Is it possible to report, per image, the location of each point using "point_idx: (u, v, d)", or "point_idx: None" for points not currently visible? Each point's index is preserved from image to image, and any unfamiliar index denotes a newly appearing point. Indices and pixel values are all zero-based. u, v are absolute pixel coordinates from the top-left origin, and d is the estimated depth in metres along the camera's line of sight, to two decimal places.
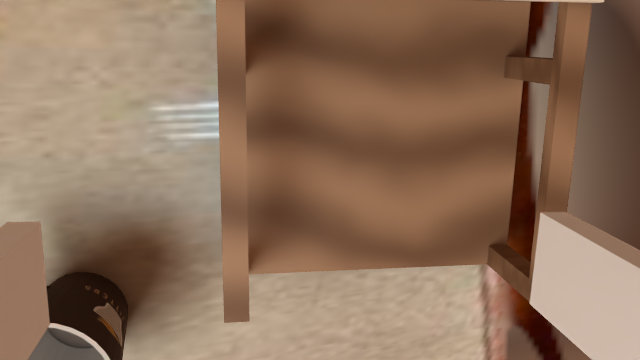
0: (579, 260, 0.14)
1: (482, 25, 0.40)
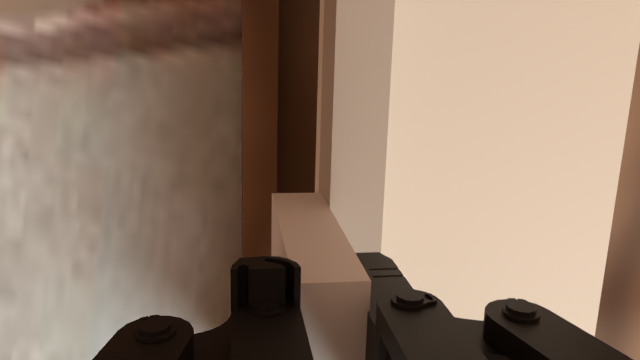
0: None
1: None
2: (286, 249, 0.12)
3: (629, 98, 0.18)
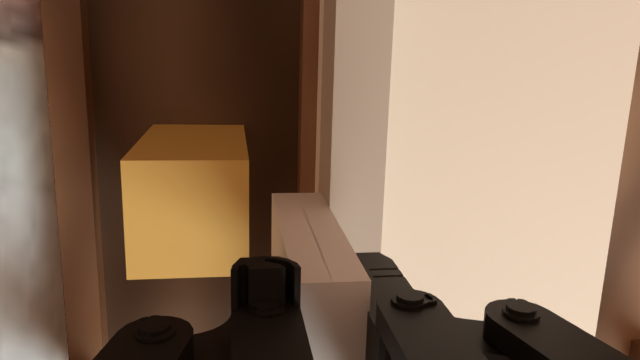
0: None
1: None
2: (286, 249, 0.12)
3: (629, 98, 0.18)
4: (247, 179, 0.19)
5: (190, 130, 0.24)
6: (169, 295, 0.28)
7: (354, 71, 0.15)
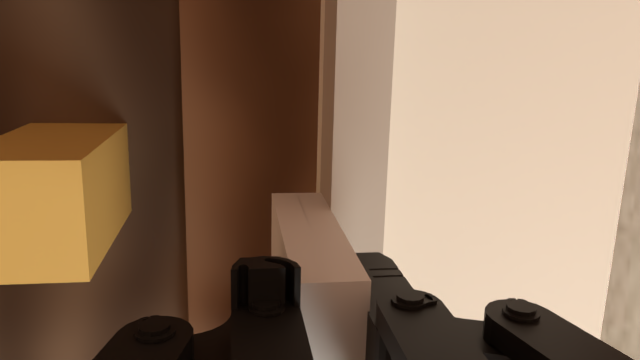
0: None
1: None
2: (286, 249, 0.12)
3: (635, 96, 0.18)
4: (80, 180, 0.18)
5: (61, 129, 0.23)
6: (57, 300, 0.27)
7: (356, 69, 0.15)
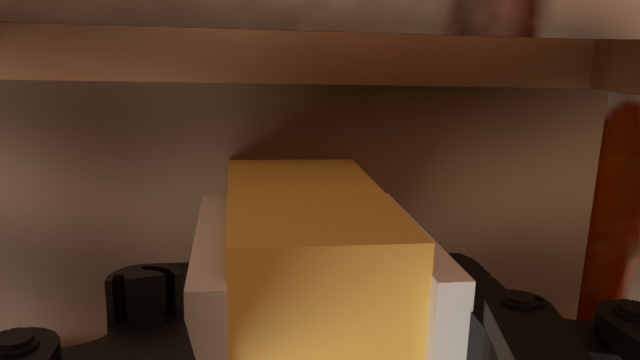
0: None
1: None
2: (191, 255, 0.12)
3: None
4: None
5: None
6: (87, 175, 0.18)
7: None
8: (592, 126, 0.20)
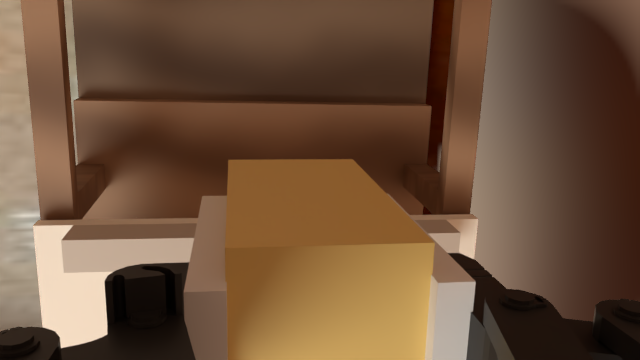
0: None
1: (377, 131, 0.36)
2: (191, 255, 0.12)
3: None
4: None
5: None
6: None
7: None
8: None
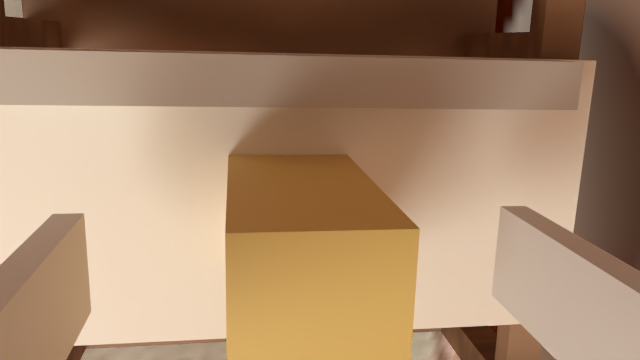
0: (533, 252, 0.14)
1: None
2: None
3: None
4: None
5: None
6: None
7: (462, 77, 0.18)
8: None
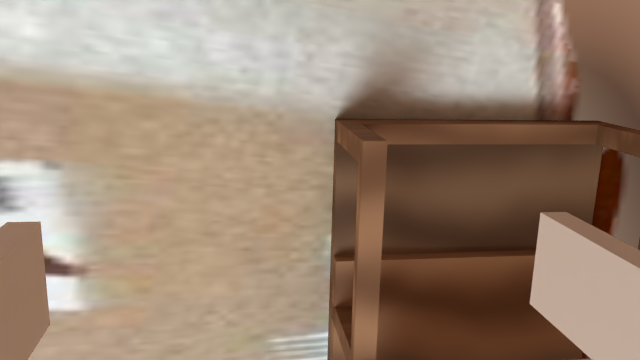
0: (579, 261, 0.14)
1: None
2: None
3: None
4: None
5: None
6: (393, 179, 0.44)
7: None
8: (596, 158, 0.46)
